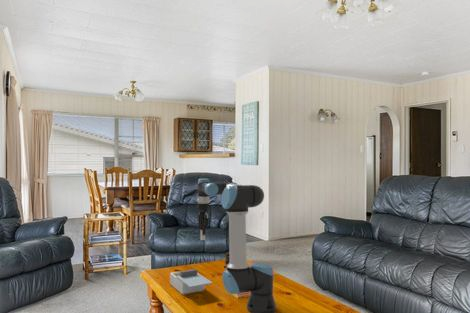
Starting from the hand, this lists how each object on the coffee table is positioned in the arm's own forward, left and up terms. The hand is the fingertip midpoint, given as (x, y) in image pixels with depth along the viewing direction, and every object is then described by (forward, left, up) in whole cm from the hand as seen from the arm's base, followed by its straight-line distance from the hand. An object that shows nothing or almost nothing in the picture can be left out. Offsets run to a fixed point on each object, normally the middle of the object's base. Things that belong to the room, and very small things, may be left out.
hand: (202, 239), depth 230 cm
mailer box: (-13, +6, -26) cm, 30 cm away
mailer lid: (-21, -1, -19) cm, 28 cm away
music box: (+6, -18, -27) cm, 33 cm away
